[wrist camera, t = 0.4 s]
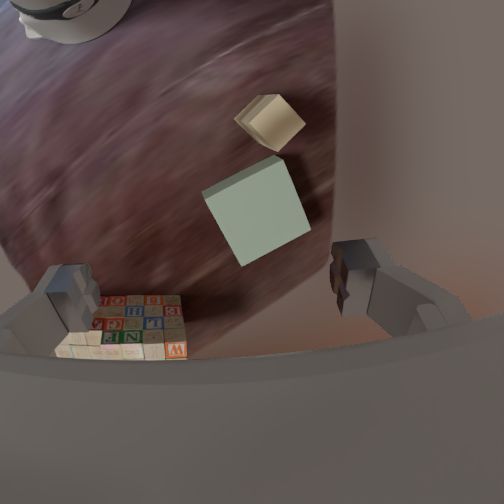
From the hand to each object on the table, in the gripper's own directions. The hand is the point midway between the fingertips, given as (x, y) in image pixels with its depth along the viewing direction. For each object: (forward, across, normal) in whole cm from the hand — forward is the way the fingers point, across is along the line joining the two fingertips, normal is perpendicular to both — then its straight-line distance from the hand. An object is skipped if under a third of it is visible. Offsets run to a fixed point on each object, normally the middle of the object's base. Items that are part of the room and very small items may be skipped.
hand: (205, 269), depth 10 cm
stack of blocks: (+30, +22, +30) cm, 48 cm away
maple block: (+38, -4, +3) cm, 39 cm away
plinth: (+36, -2, +16) cm, 40 cm away
